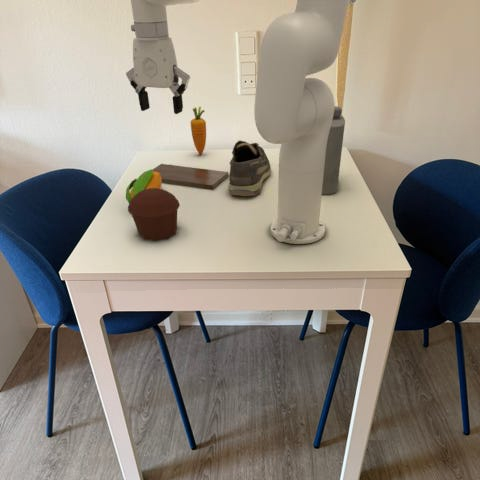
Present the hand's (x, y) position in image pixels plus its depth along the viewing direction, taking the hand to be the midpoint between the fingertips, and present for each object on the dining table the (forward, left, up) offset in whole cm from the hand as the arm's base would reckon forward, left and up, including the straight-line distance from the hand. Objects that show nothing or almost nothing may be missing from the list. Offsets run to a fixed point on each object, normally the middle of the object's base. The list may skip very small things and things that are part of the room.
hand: (161, 111), depth 112 cm
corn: (-9, +2, -21) cm, 23 cm away
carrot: (+29, +5, -21) cm, 36 cm away
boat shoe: (+14, -19, -21) cm, 31 cm away
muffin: (-24, -10, -21) cm, 33 cm away
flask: (+17, -40, -21) cm, 48 cm away
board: (+9, 0, -21) cm, 22 cm away
